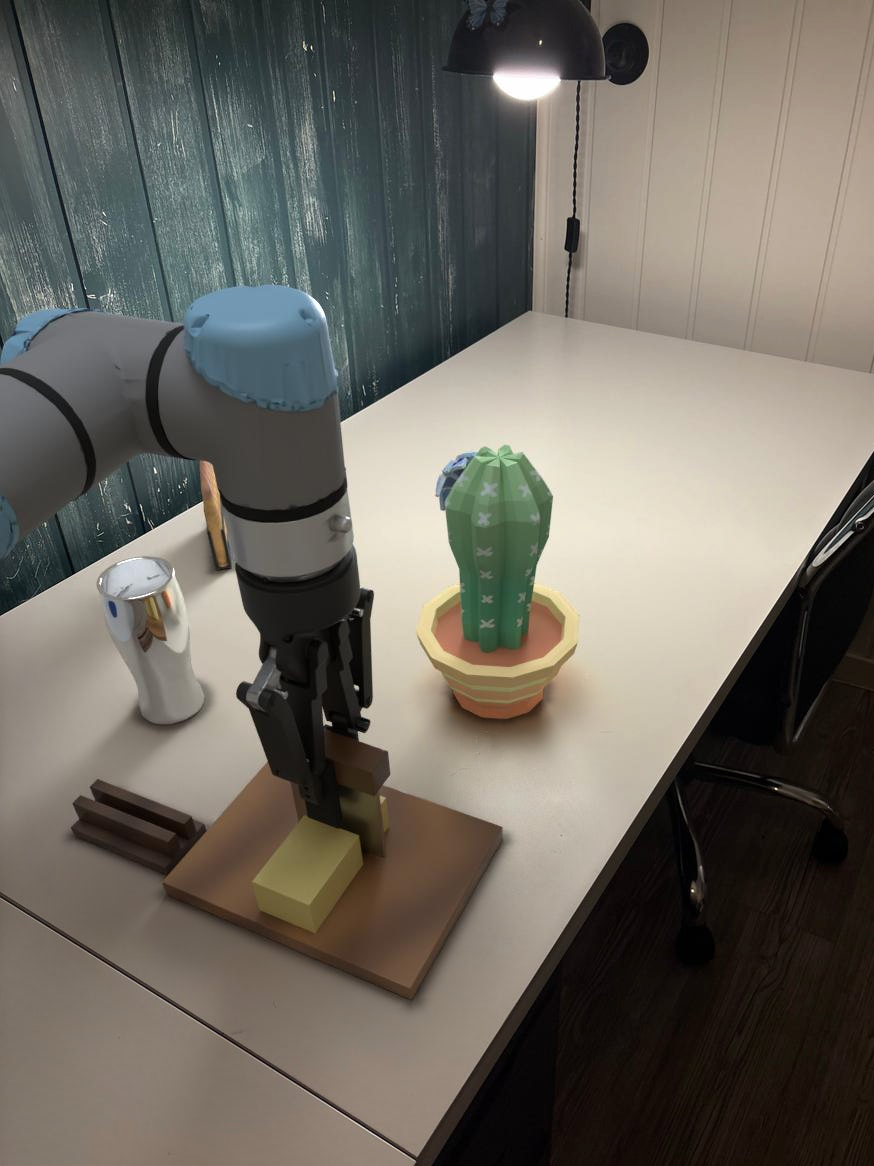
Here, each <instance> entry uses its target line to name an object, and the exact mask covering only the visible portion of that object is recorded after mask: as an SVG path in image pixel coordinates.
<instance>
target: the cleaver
mask: <svg viewBox="0 0 874 1166" xmlns="http://www.w3.org/2000/svg"><path fill="white" fill-rule="evenodd" d="M324 741H325V757H326V760H328V761H331V762H334V767H335V774H336V780H337V785H338V791H339V798H340V804H341V810H342V816H343V823H342V824H341V826H340V827H339V828H340V829H343V830H346V831H348V832H351V833H354V834H356V835H359V839H360V845H361V850H362V851H365V852H368V853H370V854H373V855H375V856H378V857H381V858H383V859H385V858H386V856H387V853H386V844H385V836H384V828H383V819H382V811H381V803H380V794H379V790H380V788H381V787H382V785H384V784H385V783H386V782H387V780H388V779H389V777H390V776H391V766H390V757H389V750H386V749H383V748H380V747H378V746H374V745H371V744H369V743H366V742H363V741H360V740H359V741H357V740H354V739H351V738H348V737H345V736H342V735H339V734H336V733H333V732H330V731H327V730H325V729H324ZM290 783H291V787H292V792H293V797H294V802H295V807H296V812H297V817H298V822H299V821H300V820H301V819H302V818H303V816H304V815H306V816H308V815H307V810H306V804H305V800H304V799H302V798H301V797H300V793H299V787H298V784H295V783H293V782H290Z"/></svg>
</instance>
